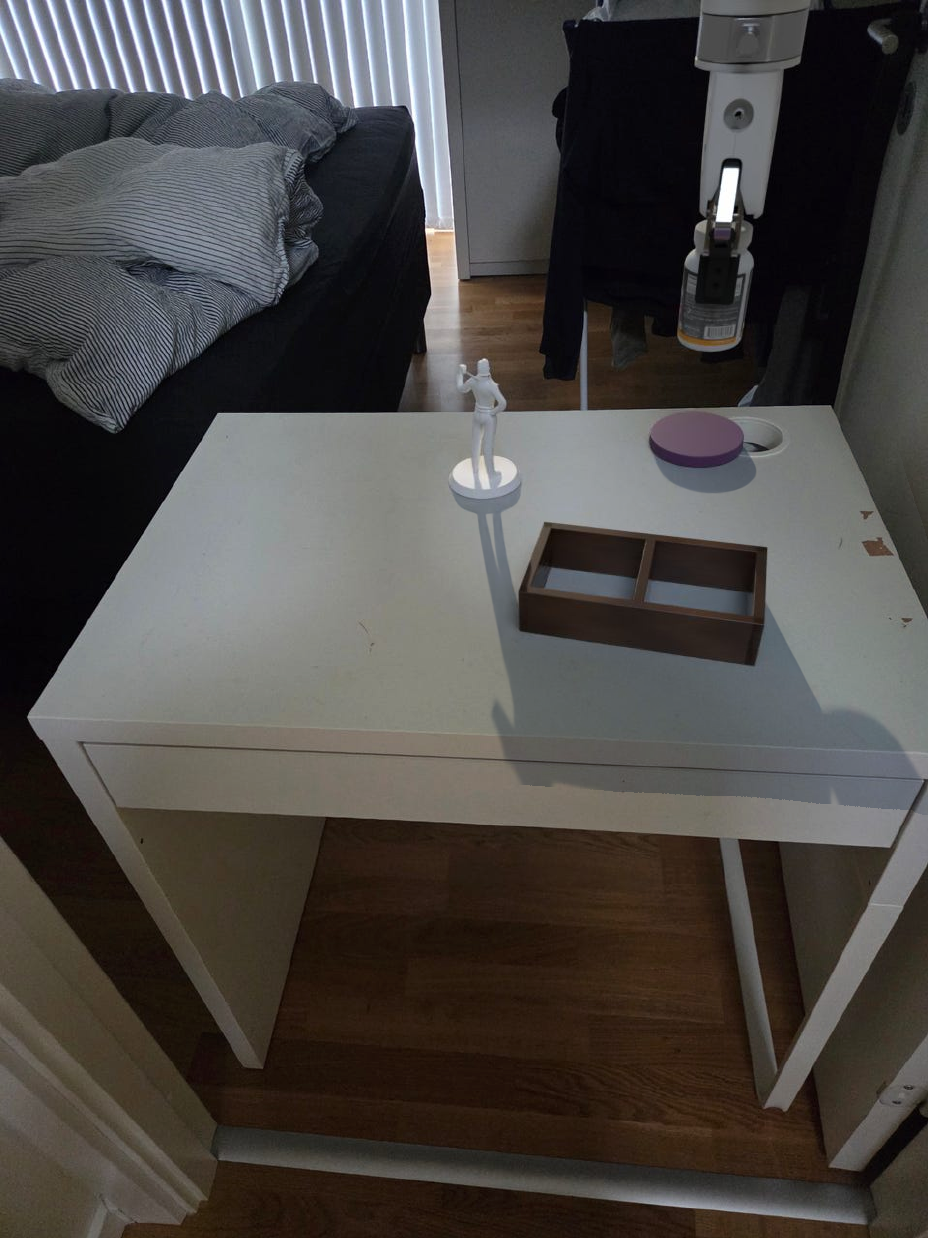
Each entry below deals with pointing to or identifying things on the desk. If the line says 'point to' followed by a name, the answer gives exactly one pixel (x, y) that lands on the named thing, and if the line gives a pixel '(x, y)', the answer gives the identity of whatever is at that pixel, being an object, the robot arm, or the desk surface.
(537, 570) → the rack
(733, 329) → the pill bottle
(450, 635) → the desk surface
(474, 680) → the desk surface
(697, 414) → the disc
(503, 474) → the figurine
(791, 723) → the desk surface
